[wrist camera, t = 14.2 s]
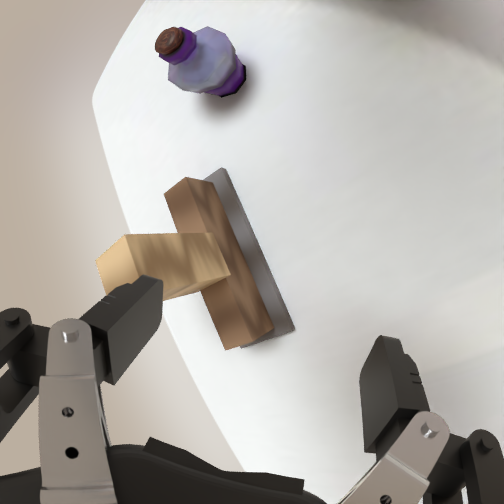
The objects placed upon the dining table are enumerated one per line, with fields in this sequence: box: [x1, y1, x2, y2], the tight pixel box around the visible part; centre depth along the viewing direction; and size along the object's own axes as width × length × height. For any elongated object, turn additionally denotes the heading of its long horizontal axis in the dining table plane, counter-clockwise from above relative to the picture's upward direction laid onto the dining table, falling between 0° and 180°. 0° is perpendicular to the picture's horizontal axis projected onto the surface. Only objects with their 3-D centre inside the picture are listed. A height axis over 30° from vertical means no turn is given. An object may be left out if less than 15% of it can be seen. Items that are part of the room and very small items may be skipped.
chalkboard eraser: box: [164, 168, 295, 350], centre depth 34 cm, size 20×7×6 cm, turn 26°
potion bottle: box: [155, 27, 246, 98], centre depth 31 cm, size 9×9×12 cm
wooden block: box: [96, 233, 231, 301], centre depth 27 cm, size 4×4×11 cm
